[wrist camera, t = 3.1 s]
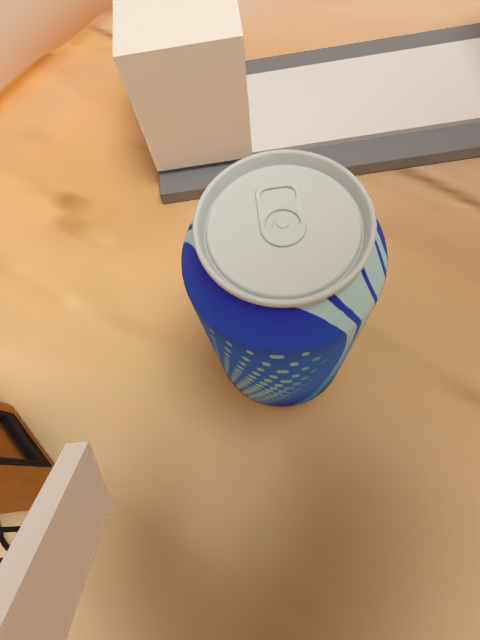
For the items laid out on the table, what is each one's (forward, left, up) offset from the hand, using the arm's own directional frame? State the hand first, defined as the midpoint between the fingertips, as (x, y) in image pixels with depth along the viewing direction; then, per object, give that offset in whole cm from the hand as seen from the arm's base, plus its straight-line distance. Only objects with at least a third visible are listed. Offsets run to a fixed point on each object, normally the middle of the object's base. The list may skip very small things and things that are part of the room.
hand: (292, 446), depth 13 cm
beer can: (+3, -7, -14) cm, 16 cm away
